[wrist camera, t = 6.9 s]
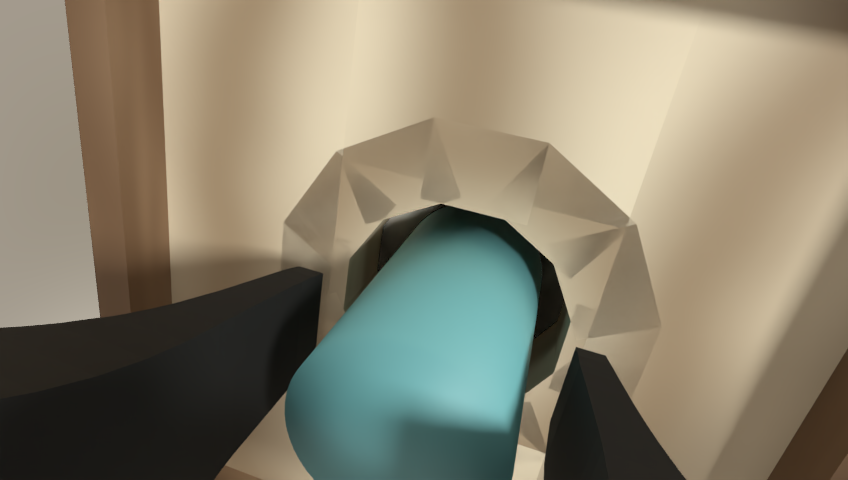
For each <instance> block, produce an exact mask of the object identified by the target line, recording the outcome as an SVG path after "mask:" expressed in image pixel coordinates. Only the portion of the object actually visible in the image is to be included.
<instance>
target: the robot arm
mask: <svg viewBox="0 0 848 480" xmlns="http://www.w3.org/2000/svg"><path fill="white" fill-rule="evenodd" d="M322 280H323V273H321V272H317V271H314V270H311V269H307V268H304V267H300V266H298V267H293V268H289V269H285V270H282V271H279V272H275V273H272V274H269V275H266V276H263V277H260V278H257V279H254V280H251V281H248V282H245V283H241V284H238V285H235V286H232V287H229V288H226V289H223V290H220V291H216V292H213V293H209V294H205V295H202V296H198V297H195V298H191V299H188V300H184V301H181V302H177V303H173V304H169V305H165V306H160V307H156V308H152V309H147V310H142V311H137V312H132V313H127V314H121V315H115V316H109V317H102V318H95V319H87V320H79V321H72V322H66V323H57V324H46V325H35V326H24V327H8V328H0V480H214V479H215V478H216V476H217V475H218V474H219V472H220V471H221V470H222V468H223V467H224V466H225V464H226V463H227V462H228V461H229V459H230V458H231V457H232V455H233V454H234V453H235V452H236V451H237V449H238V448H239V447H240V446H241V445H242V444H243V442H244V441H245V440H246V439H247V438H248V436H249V435H250V434H251V433H252V432H253V430H254V429H255V428H256V427H257V426H258V425H259V423H260V422H261V421H262V420H263V419H264V417H265V416H266V415H267V414H268V413H269V412H270V410H271V409H272V408H273V407H274V406H275V404H276V403H277V402H278V401H279V400H280V398H281V397H282V396H283V395H284V393H285V392H286V391H287V390H288V387H289V384H290V381H291V379H292V378H293V376H294V374H295V373H296V371H297V370H298V368H299V367H300V366H301V365H302V364H303V362H304V361H305V360H306V359H307V358H308V356H309V355H310V354H311V353H312V352H313V350H314V349H315V348H316V343H317V332H318V322H319V311H320V301H321V290H322ZM544 480H686V479H685V477H684V476H683V475H682V473H681V472H680V471H679V470H678V468H677V467H676V465H675V464H674V463H673V461H672V460H671V459H670V457H669V456H668V454H667V453H666V452H665V450H664V449H663V448H662V446H661V445H660V443H659V442H658V440H657V439H656V438H655V436H654V435H653V433H652V432H651V430H650V429H649V427H648V426H647V424H646V422H645V421H644V419H643V418H642V416H641V415H640V413H639V411H638V410H637V408H636V407H635V405H634V403H633V402H632V400H631V398H630V397H629V395H628V393H627V391H626V390H625V388H624V386H623V385H622V383H621V381H620V379H619V378H618V376H617V374H616V372H615V371H614V369H613V367H612V365H611V364H610V362H609V360H608V359H607V357H606V355H602V354H599V353H595V352H592V351H588V350H585V349H582V348H578V347H576V348H575V351H574V354H573V357H572V360H571V362H570V365H569V368H568V371H567V374H566V377H565V380H564V383H563V385H562V388H561V391H560V394H559V397H558V400H557V403H556V406H555V408H554V411H553V414H552V417H551V420H550V425H549V432H548V439H547V446H546V453H545V461H544Z"/></svg>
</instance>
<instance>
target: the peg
mask: <svg viewBox="0 0 848 480" xmlns="http://www.w3.org/2000/svg"><path fill="white" fill-rule="evenodd" d="M541 283H542V263H541V258H540V254H539V252H538V250H537V249H536V248H535V247H534V246H533V245H532V244H531V243H530V242H529V241H528V240H527V239H525V238H524V237H523V236H522V235H521V234H520V233H519V232H518V231H517V230H516V229H515V228H513V227H512V226H511V225H510V224H509V223H508V222H507V221H506V220H504V219H500V218H496V217H492V216H488V215H484V214H480V213H476V212H472V211H468V210H464V209H460V208H457V207H453V206H447V207H444V208H441V209H439V210H437V211H435V212H433V213H432V214H430V215H428V216H427V217H426V218H425V219H424V220H423V221H421V222H420V224H419V225H418V226H417V227H416V228H415V230H414V231H413V232H412V233H411V234H410V235H409V237H408V238H407V239H406V240H405V241H404V243H403V244H402V245H401V246H400V247H399V249H398V250H397V251H396V252H395V253H394V255H393V256H392V257H391V258H390V259H389V261H388V262H387V263H386V264H385V265H384V267H383V268H382V269H381V270H380V271H379V273H378V274H377V275H376V276H375V277H374V279H373V280H372V281H371V282H370V283H369V285H368V286H367V287H366V288H365V289H364V291H363V292H362V293H361V294H360V295H359V297H358V298H357V299H356V300H355V301H354V303H353V304H352V305H351V306H350V307H349V308H348V310H347V311H346V312H345V313H344V314H343V316H342V317H341V318H340V319H339V320H338V322H337V323H336V324H335V325H334V326H333V328H332V329H331V330H330V331H329V332H328V334H327V335H326V336H325V337H324V338H323V340H322V341H321V342H320V343H319V344H318V346H317V347H316V348H315V349H314V350H313V352H312V353H311V354H310V355H309V356H308V358H307V359H306V360H305V361H304V362H303V364H302V365H301V366H300V367H299V368H298V370H297V371H296V373H295V374H294V376H293V378H292V379H291V381H290V384H289V387H288V390H287V393H286V399H285V422H286V428H287V432H288V436H289V439H290V441H291V444H292V446H293V449H294V451H295V453H296V455H297V456H298V458H299V460H300V462H301V463H302V465H303V466H304V468H305V469H306V471H307V472H308V473H309V474H310V476H311V477H312V478H313V479H314V480H512V477H513V472H514V465H515V458H516V452H517V445H518V438H519V431H520V425H521V418H522V411H523V404H524V398H525V391H526V384H527V377H528V371H529V364H530V357H531V350H532V344H533V337H534V330H535V323H536V317H537V310H538V303H539V296H540V290H541Z"/></svg>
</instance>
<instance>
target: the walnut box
mask: <svg viewBox="0 0 848 480" xmlns="http://www.w3.org/2000/svg"><path fill="white" fill-rule="evenodd" d="M65 6H66V14H67V23H68V33H69V42H70V50H71V59H72V68H73V77H74V86H75V95H76V104H77V112H78V122H79V131H80V140H81V147H82V148H81V149H82V157H83V166H84V175H85V184H86V193H87V202H88V211H89V220H90V229H91V237H92V247H93V256H94V265H95V273H96V283H97V292H98V300H99V310H100V318H102V317H109V316H115V315H121V314H127V313H132V312H137V311H142V310H147V309H152V308H156V307H160V306H165V305H169V304H173V303H177V302H181V301H184V300H188V299H191V298H195V297H198V296H202V295H205V294H209V293H213V292H216V291H220V290H223V289H226V288H229V287H232V286H235V285H238V284H241V283H245V282H248V281H251V280H254V279H257V278H260V277H263V276H266V275H269V274H272V273H275V272H279V271H282V270H285V269H289V268H293V267H298V266H300V267H304V268H307V269H311V270H314V271H317V272H321V273H323V280H322V290H321V301H320V311H319V322H318V332H317V343H316V347H317V346H318V344H319V343H320V342H321V341H322V340H323V338H324V337H325V336H326V335H327V334H328V332H329V331H330V330H331V329H332V328H333V326H334V325H335V324H336V323H337V322H338V320H339V319H340V318H341V317H342V316H343V314H344V313H345V312H346V311H347V310H348V308H349V307H350V306H351V305H352V304H353V303H354V301H355V300H356V299H357V298H358V297H359V295H360V294H361V293H362V292H363V291H364V289H365V288H366V287H367V286H368V285H369V283H370V282H371V281H372V280H373V279H374V277H375V276H376V275H377V274H378V271H377V266H378V259H379V252H380V245H381V238H382V231H383V225H384V224H385V223H386V222H387V221H388V220H389V218H391V217H394V216H398V215H402V214H405V213H409V212H412V211H416V210H420V209H423V208H427V207H430V206H434V205H438V204H445V205H449V206H453V207H457V208H460V209H464V210H468V211H472V212H476V213H480V214H484V215H488V216H492V217H496V218H500V219H504V220H506V221H507V222H508V223H509V224H510V225H511V226H512V227H513V228H515V229H516V230H517V231H518V232H519V233H520V234H521V235H522V236H523V237H524V238H525V239H527V240H528V241H529V242H530V243H531V244H532V245H533V246H534V247H535V248H536V249H537V250H539V251H540V252H541V253H542V254H543V255H544V256H545V257H546V258H547V259H548V260H549V261H551V262H552V263H553V264H554V267H555V270H556V274H557V277H558V280H559V284H560V287H561V290H562V294H563V297H564V302H563V306H562V309H561V312H560V315H559V318H558V321H557V322H556V323H554V324H553V325H552V326H551V327H549V328H548V329H547V330H546V331H544V332H543V333H542V334H541V335H539V336H538V337H537V338H536V339H534V340H533V344H532V350H531V357H530V364H529V371H528V377H527V384H526V391H525V398H524V404H523V411H522V418H521V425H520V431H519V438H518V445H517V452H516V458H515V465H514V472H513V477H512V480H544V461H545V453H546V446H547V439H548V432H549V425H550V420H551V417H552V414H553V411H554V408H555V406H556V403H557V400H558V397H559V394H560V391H561V388H562V385H563V383H564V380H565V377H566V374H567V371H568V368H569V365H570V362H571V360H572V357H573V354H574V351H575V348H576V347H578V348H582V349H585V350H588V351H592V352H595V353H599V354H602V355H606V357H607V359H608V360H609V362H610V364H611V365H612V367H613V369H614V371H615V372H616V374H617V376H618V378H619V379H620V381H621V383H622V385H623V386H624V388H625V390H626V391H627V393H628V395H629V397H630V398H631V400H632V402H633V403H634V405H635V407H636V408H637V410H638V411H639V413H640V415H641V416H642V418H643V419H644V421H645V422H646V424H647V426H648V427H649V429H650V430H651V432H652V433H653V435H654V436H655V438H656V439H657V440H658V442H659V443H660V445H661V446H662V448H663V449H664V450H665V452H666V453H667V454H668V456H669V457H670V459H671V460H672V461H673V463H674V464H675V465H676V467H677V468H678V470H679V471H680V472H681V473H682V475H683V476H684V477H685V479H686V480H848V0H65ZM286 393H287V391H286V392H285V393H284V395H283V396H282V397H281V398H280V400H279V401H278V402H277V403H276V404H275V406H274V407H273V408H272V409H271V410H270V412H269V413H268V414H267V415H266V416H265V417H264V419H263V420H262V421H261V422H260V423H259V425H258V426H257V427H256V428H255V429H254V430H253V432H252V433H251V434H250V435H249V436H248V438H247V439H246V440H245V441H244V442H243V444H242V445H241V446H240V447H239V448H238V449H237V451H236V452H235V453H234V454H233V455H232V457H231V458H230V459H229V461H228V462H227V463H226V464H225V466H224V467H223V468H222V470H221V471H220V472H219V474H218V475H217V476H216V478H215V479H214V480H314V479H313V478H312V477H311V476H310V474H309V473H308V472H307V471H306V469H305V468H304V466H303V465H302V463H301V462H300V460H299V458H298V456H297V455H296V453H295V451H294V449H293V446H292V444H291V441H290V439H289V436H288V432H287V428H286V422H285V399H286Z"/></svg>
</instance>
